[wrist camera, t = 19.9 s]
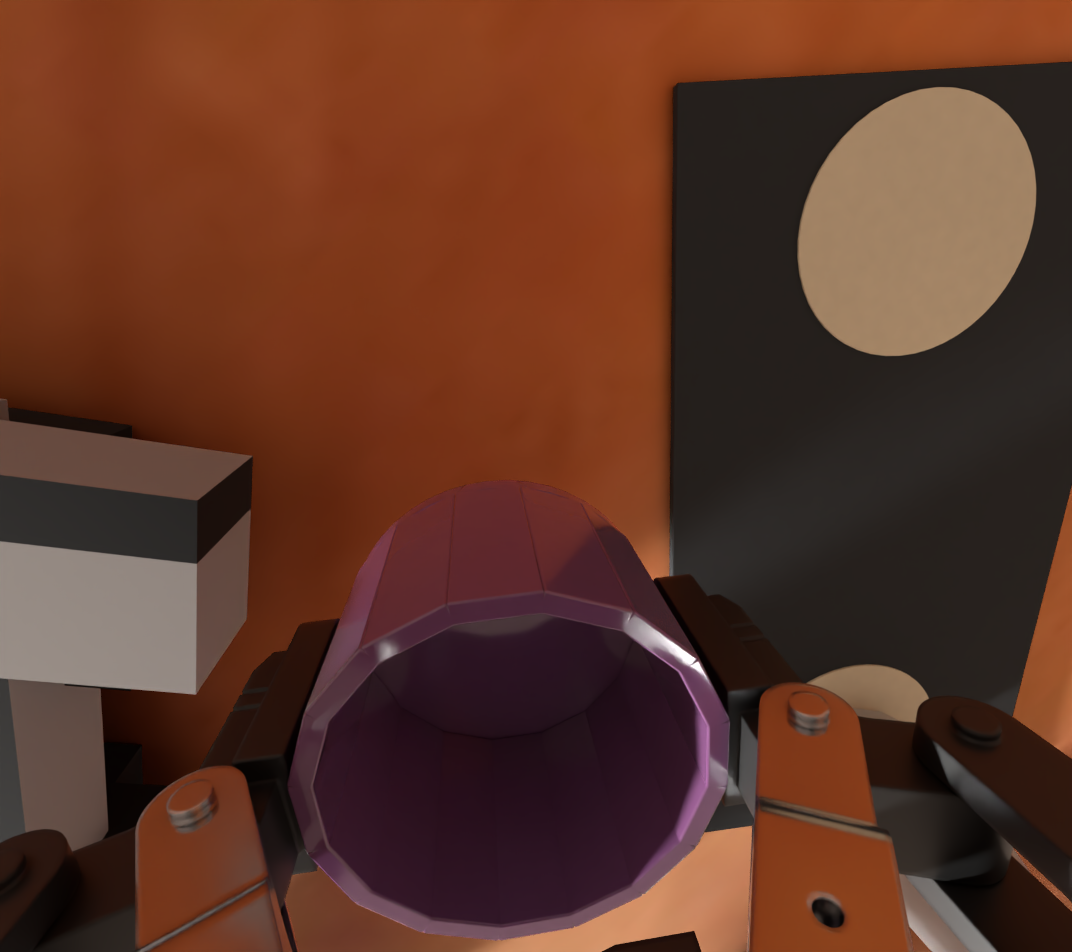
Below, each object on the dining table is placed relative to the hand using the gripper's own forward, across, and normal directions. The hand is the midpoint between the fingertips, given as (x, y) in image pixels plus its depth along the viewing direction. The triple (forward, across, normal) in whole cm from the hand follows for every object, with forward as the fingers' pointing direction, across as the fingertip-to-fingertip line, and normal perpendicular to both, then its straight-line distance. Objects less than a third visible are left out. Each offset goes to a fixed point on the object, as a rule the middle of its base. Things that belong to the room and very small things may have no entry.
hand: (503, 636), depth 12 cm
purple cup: (+1, 0, 0) cm, 1 cm away
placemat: (+9, -15, +3) cm, 18 cm away
